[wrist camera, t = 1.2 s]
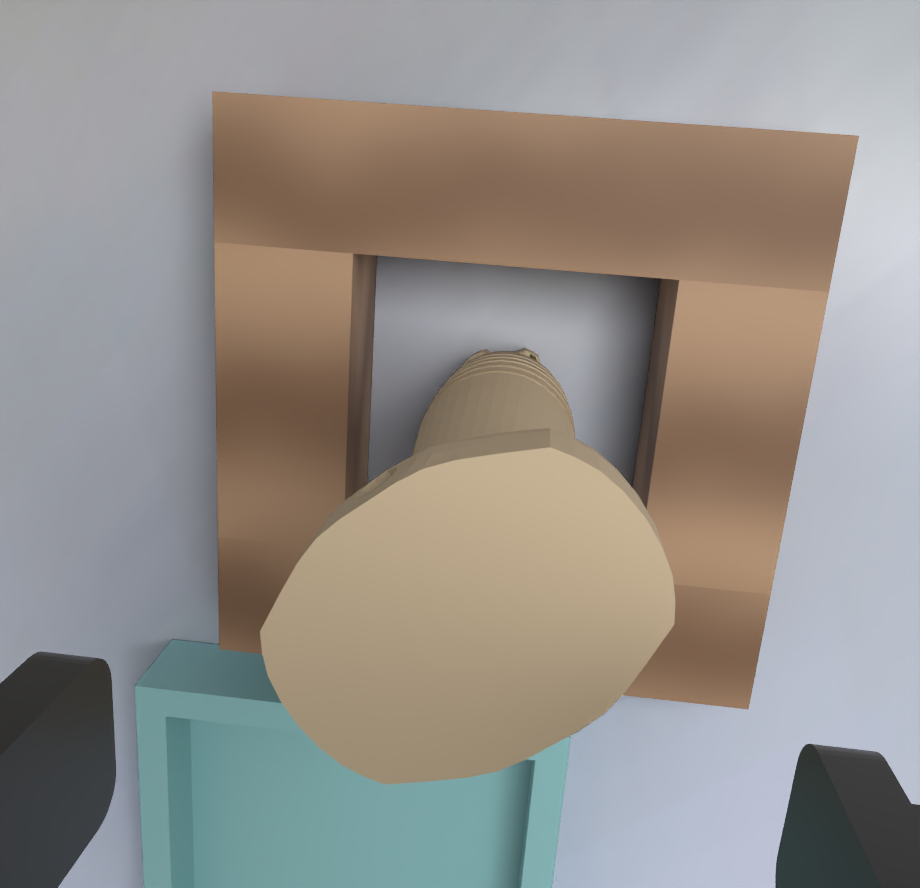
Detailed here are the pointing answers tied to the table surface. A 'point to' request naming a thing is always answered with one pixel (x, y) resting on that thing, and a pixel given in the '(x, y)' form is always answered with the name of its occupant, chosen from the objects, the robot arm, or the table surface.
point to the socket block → (531, 246)
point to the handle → (472, 590)
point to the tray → (315, 797)
